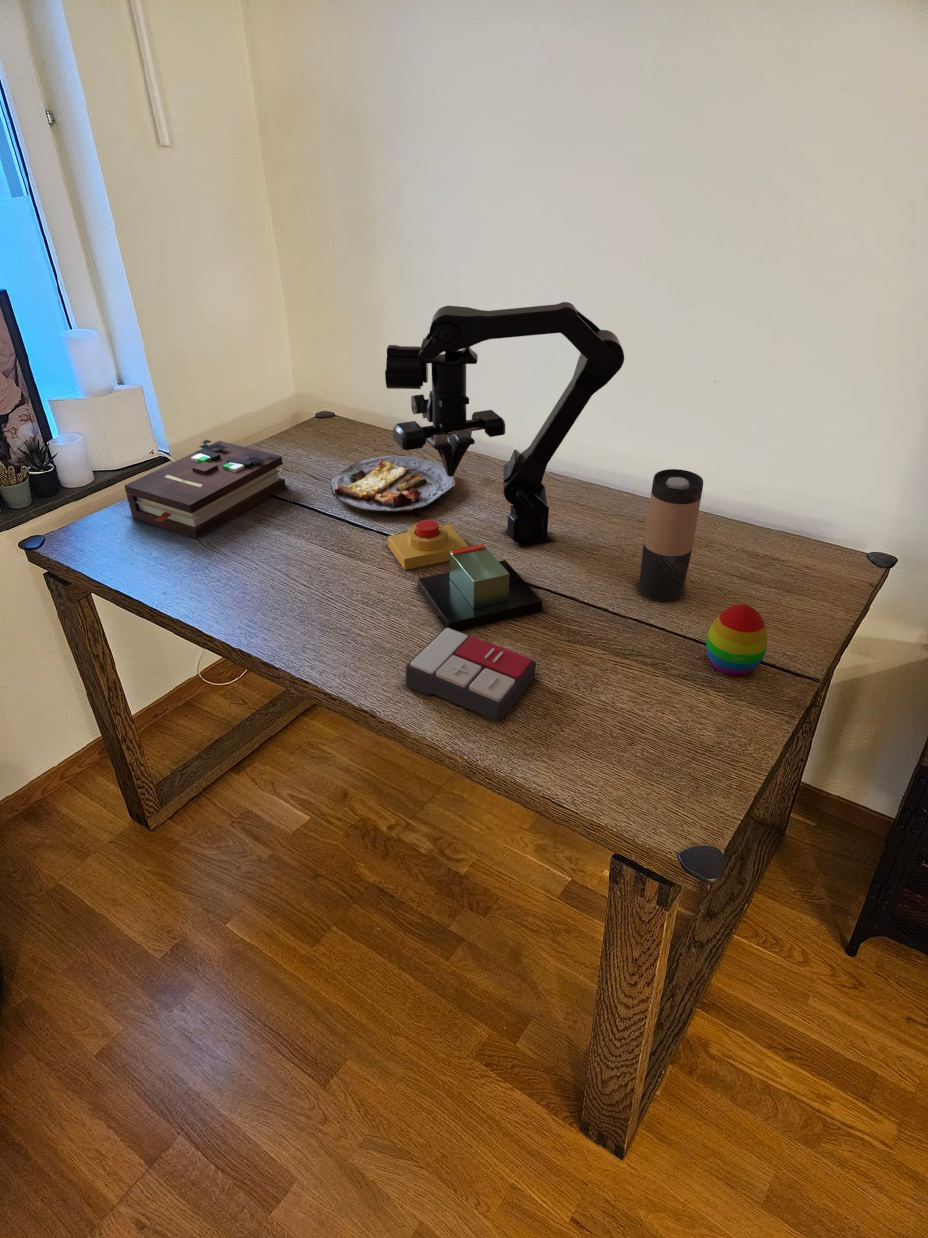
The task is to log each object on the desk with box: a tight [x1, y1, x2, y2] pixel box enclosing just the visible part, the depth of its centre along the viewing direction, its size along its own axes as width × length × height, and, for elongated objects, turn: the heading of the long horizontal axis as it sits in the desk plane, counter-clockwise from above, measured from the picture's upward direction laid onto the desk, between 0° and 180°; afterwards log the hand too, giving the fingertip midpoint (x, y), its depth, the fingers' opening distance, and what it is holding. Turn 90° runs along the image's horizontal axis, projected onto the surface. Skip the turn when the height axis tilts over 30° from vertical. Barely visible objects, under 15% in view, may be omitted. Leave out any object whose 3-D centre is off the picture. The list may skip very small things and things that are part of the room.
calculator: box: [405, 627, 537, 722], centre depth 113 cm, size 11×4×15 cm
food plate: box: [330, 455, 456, 514], centre depth 164 cm, size 25×23×4 cm
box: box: [449, 543, 509, 609], centre depth 129 cm, size 10×6×5 cm, turn 23°
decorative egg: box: [705, 603, 768, 677], centre depth 114 cm, size 8×8×10 cm
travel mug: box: [638, 468, 704, 603], centre depth 128 cm, size 8×8×20 cm
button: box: [415, 519, 440, 538], centre depth 142 cm, size 4×4×2 cm
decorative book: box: [123, 439, 287, 539], centre depth 159 cm, size 19×8×30 cm
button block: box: [387, 523, 470, 571], centre depth 144 cm, size 12×9×4 cm
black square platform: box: [416, 559, 543, 632], centre depth 131 cm, size 16×14×2 cm
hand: (450, 475), depth 143 cm, fingers closed
